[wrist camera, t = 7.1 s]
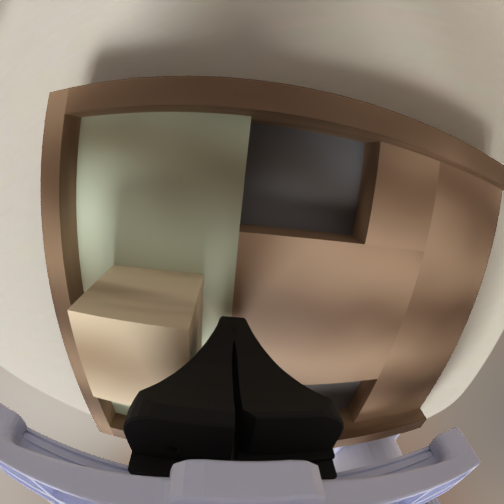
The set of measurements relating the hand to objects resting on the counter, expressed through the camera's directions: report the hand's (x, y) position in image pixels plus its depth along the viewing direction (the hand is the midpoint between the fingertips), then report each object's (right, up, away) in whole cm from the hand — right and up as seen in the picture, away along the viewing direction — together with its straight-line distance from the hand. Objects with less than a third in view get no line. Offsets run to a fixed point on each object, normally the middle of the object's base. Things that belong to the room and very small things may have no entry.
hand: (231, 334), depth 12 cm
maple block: (-4, +1, +1) cm, 4 cm away
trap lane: (+4, +1, +3) cm, 5 cm away
